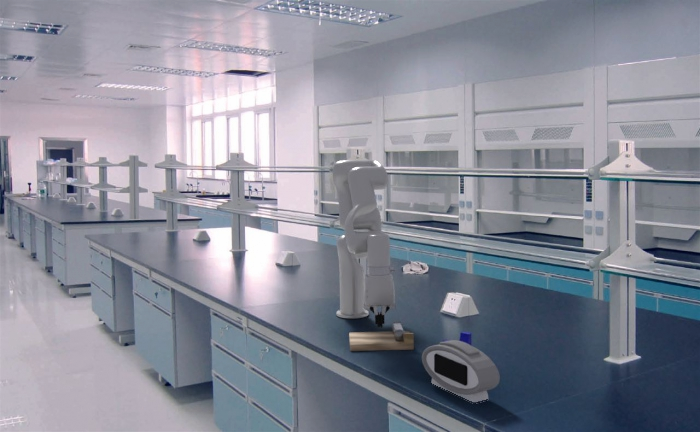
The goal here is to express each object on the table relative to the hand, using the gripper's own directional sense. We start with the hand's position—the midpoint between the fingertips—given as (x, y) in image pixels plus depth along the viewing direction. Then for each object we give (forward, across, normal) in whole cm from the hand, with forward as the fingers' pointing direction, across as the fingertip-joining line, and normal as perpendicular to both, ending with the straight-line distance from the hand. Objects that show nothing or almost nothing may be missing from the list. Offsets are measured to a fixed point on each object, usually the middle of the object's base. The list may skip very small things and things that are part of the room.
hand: (379, 326), depth 204 cm
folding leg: (+3, -6, +3) cm, 7 cm away
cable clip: (+6, -23, +18) cm, 30 cm away
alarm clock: (+6, -17, +47) cm, 50 cm away
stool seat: (+5, 0, +3) cm, 6 cm away
